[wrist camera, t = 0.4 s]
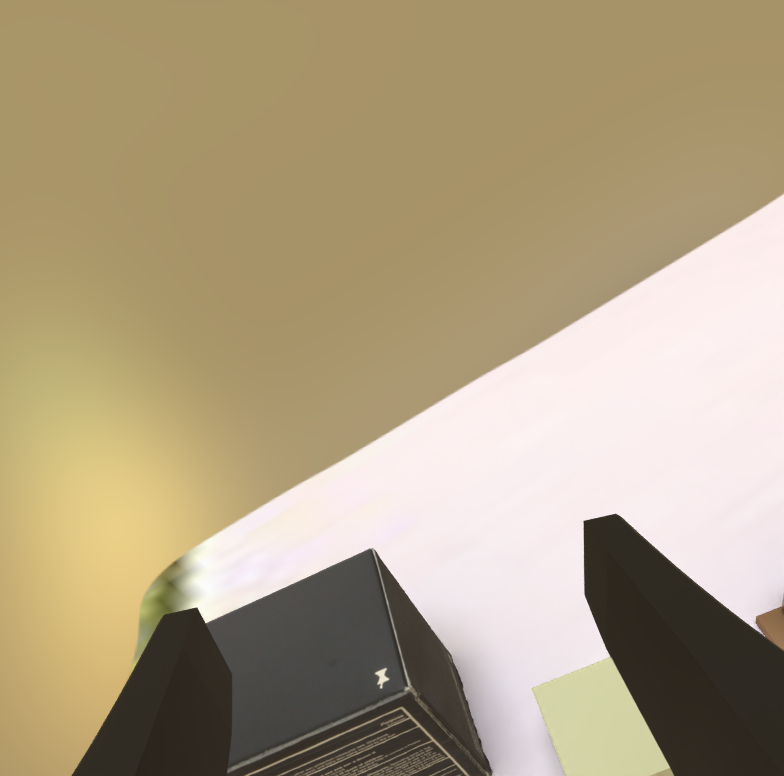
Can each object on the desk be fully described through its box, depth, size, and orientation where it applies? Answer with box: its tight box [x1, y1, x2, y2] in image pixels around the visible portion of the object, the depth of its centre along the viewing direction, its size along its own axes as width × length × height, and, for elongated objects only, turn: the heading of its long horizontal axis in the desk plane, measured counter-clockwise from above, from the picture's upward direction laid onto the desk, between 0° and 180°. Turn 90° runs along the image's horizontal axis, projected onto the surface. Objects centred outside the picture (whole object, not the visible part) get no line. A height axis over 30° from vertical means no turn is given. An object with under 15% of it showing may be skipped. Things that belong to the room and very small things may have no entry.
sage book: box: [532, 657, 674, 776], centre depth 24 cm, size 4×7×5 cm, turn 103°
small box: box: [206, 548, 491, 776], centre depth 26 cm, size 11×6×10 cm, turn 105°
